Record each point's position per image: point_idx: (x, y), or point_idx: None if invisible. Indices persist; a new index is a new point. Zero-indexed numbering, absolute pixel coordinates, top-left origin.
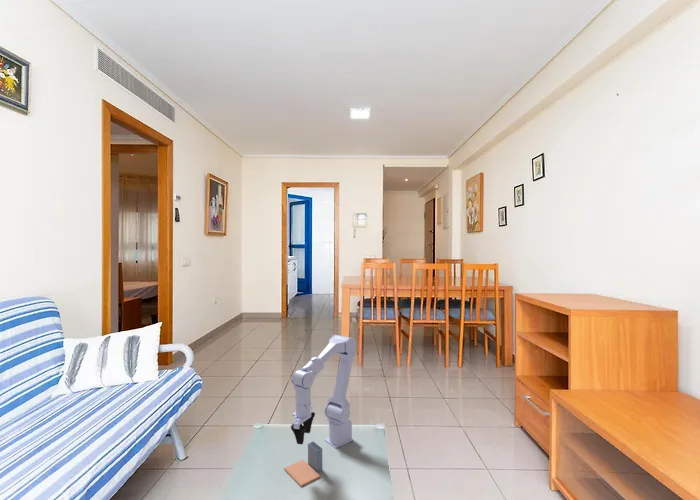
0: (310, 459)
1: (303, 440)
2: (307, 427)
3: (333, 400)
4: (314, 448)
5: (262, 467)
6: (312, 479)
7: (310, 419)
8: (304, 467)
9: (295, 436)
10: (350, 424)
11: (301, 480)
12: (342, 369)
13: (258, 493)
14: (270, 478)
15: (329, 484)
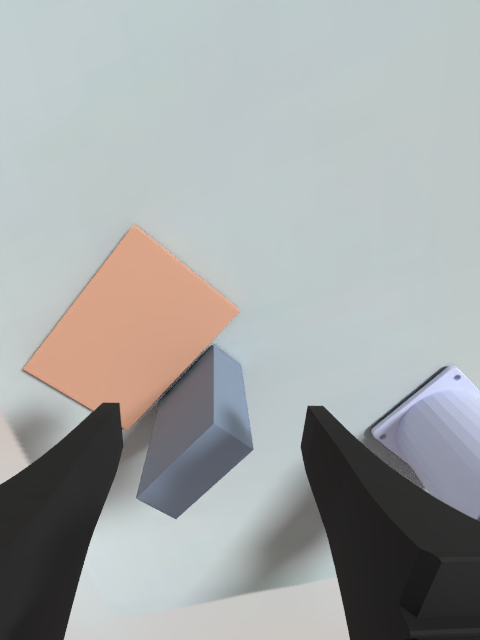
0: (195, 384)
1: (110, 477)
2: (321, 475)
3: None
4: (164, 478)
5: (121, 38)
6: (86, 406)
7: (352, 609)
8: (169, 342)
9: (43, 457)
10: None
11: (58, 360)
12: None
13: None
14: (30, 161)
15: None
